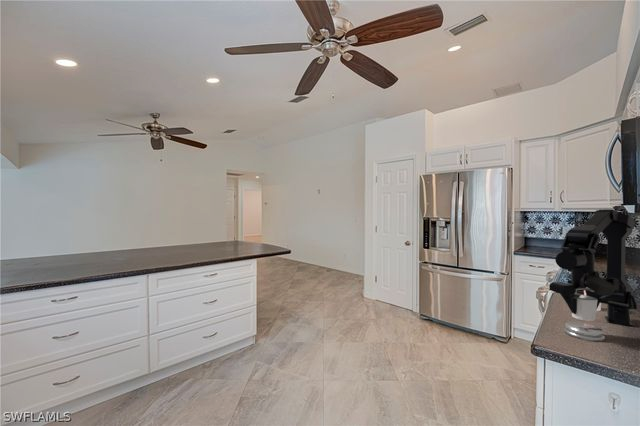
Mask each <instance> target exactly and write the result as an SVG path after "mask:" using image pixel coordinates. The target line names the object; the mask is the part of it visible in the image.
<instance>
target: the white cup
mask: <svg viewBox="0 0 640 426" xmlns="http://www.w3.org/2000/svg"><path fill="white" fill-rule="evenodd" d="M577 295H581V296H580V297H579V298H578V299H577V311H576V314H573V313H572V312H571V316H572V318H575V319H577V320H582V321H585V322H586V321H589V322H593V321H596V316H597V311H596V309H597V300H598V299H597V298H594V297H591V296H586V295H584V294H578V293H577Z"/></svg>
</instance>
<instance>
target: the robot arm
mask: <svg viewBox="0 0 640 426" xmlns="http://www.w3.org/2000/svg"><path fill="white" fill-rule="evenodd" d="M635 223H636V222H635V219H634V218H633V217H632V216H631V215H630V214H626V213H624V212H620V211H618V210H616V209H613V208H611V209H610V208H609V209H602V208H601V209H597V210H595V212H594V214H593V215H592V216H591V217H590V218H589V219H588V220H586V221H585V222H584V224H582V225H579V226H574V227H572V228H571V229H569V230H568V231H567V232H566V233H565V235H564V239H563V241H562V244H561V247H560V249H561V250H562V251H561V252H559V253H557V255H556V256H555V258H554V259H555V263H556V265H557V266H558V267H559V268H561V269H563V270H566V271H567V272H570V275H571V278H570V279H568V280H567V283H566V282H562V281H553V282H551V283H549V287H548V289H549V291H552V292H555V293H558V294H559V295H560V296H561V298H563V300H564V301H565V303H566V305H567V307H568V308H569V310H570V312H571V314H572V313H573V314H576V311H577V299H578V298H579V297H580V296H581V295H582V294H579V295H577V294H578V291H584V290H585V291H586V296H591V297H594V298H597V299H598V300H597V308H598V306H599V304H600V303H601V304H604V305H606V308H607V311H606V313H607V315H604V319H605V320H606V321H607V322H608V323H610V324H611V323H612V324H617V325H623V326H627V327H628V326H629V327H634V324H633V323H632V322H631V311H632V310H638V306H639V305H638V304H639V302H638V300H637V298H636V296H635V295H634V293H633V291H632V288H633V287H632V286H631V285H630V284H629V282H628V280H627V279H626V244H627V243H626V241H627V240H626V239H628V238H629V237H630V235H632V233H633V229H634V228H635ZM601 233H602V234H603V235H604V236H605V238H606V240H607V241H606V277H604V278H603V277H601V276H600V272H599V271H598V270H595V253H597V251H596V249H597V247H598V245H599V243H600V241H601V237H600V234H601ZM586 287H587V288H586ZM596 310H597V309H596Z"/></svg>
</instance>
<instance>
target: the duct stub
mask: <svg viewBox="0 0 640 426" xmlns="http://www.w3.org/2000/svg"><path fill="white" fill-rule="evenodd" d="M563 333H565V334H567V335H568V336H570V337H573V338H576V339H580V340H583V341H587V342H595V343H596V342H597V343H599V342H604V341H605V340H606V335H605V334H604V333H603V329H602V328H601V327H598V326H596V325H593V324H590V323H584V322H578V321H566V322H565V326H564V327H563Z"/></svg>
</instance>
